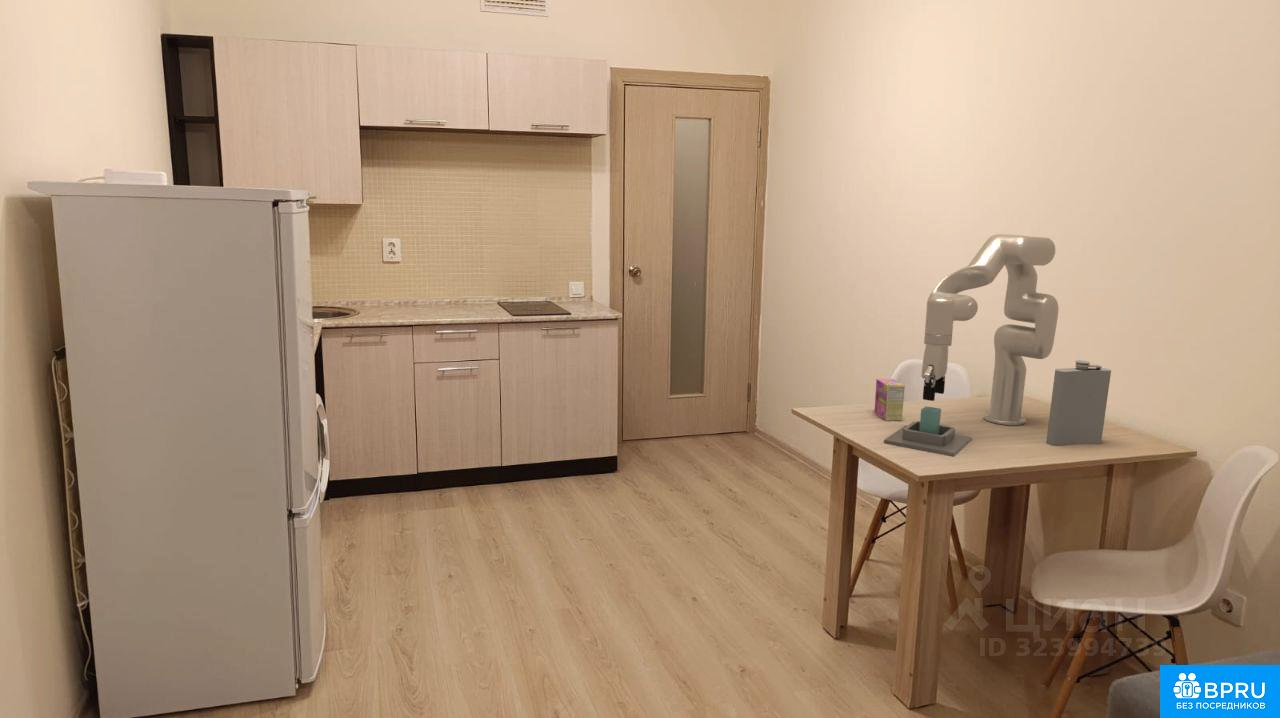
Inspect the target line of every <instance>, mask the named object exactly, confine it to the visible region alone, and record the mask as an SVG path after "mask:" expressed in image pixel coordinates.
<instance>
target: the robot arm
mask: <svg viewBox="0 0 1280 718" xmlns="http://www.w3.org/2000/svg"><path fill="white" fill-rule="evenodd" d="M1055 255H1056V245H1055V242H1054V241H1053V240H1052V239H1051V238H1049V237H1045V236H1044V237H1042V236H1029V235H1019V234H1018V235H1017V234H1006V233H1005V234H1003V233H1002V234H994V235H992V236H990V237H988V239H986V241H985V242H984V243H983V245H982V246H981V248H980V249H979V250H978V252H977V253H976V254H975V256H974V257H973V258H972V260H970V263H968V265H966V266H964V267H961V268H960V269H958V270H955V271H954V272H953V273H950V274H948V275H947V276H945V277H944V278H942V279H941V280H940V281H939V282H938V283H937V284H936V286H935V287H934V288H933V290H932V291H931V293H930V294H929V296H928V298H927V302H926V312H925V314H926V315H925V326H924V327H925V328H924V337H923V338H924V340H923V344H924V346H925V348H924V353H923V357H922V359H923V360H922V366H921V375H920V377H921V378H922V379H924V381H923V389H922V390H923V391H922V400H925V401H932V402H934V401H935V399H936V398H935V396H936V394H941V395H943V394H944V393H945V385H946V374H947V372H948V371H947V370H948V362H949V361H948V360H949V347H950V346H952V342H953V332H954V331H953V329H954V322H955V321H959V322H967V321H969V320H972V319H973V318H974V317H975V316H976V314H977V313H978V307H979V306H978V305H979V304H978V302H977V300H976V299H975V298H974V297H972V296H970V295H966V294H960V293H961V292H964V291H969V290H974V289H977V288H982V287H985V286H988V285H991V284H992V283H993V282H994V280H995V279H996V278H997V276H999V273H1000V272H1001V271H1002V269H1003V268H1004V267H1005V269H1006V271H1007V284H1006V291H1005V292H1006V293H1005V298H1004V307H1003V313H1004V316H1005V317H1006V318H1007V319H1009V320H1012V321H1017V322H1023V323H1030V324H1034V327H1031V326H1026V325H1019V324H1011V323H1009V324H1003V325H1001V326H998V328H997V329H996V331H995V332H994V336H993V344H994V346H993V347H994V367H993V368H994V369H993V377H992V385H991V394H990V395H991V396H990V403H989V404H990V405H989V412H986V413H984V414H983V419H984V420H985V421H987V422H989V423H994V424H996V425H997V424H998V425H1002V426H1003V425H1004V426H1005V425H1006V426H1022V425H1025V424H1026V420H1027V419H1026V418H1025V417H1024V416H1022V411H1023V402H1024V392H1025V383H1026V375H1027V365H1026V363H1025V361H1024V358H1029V359H1030V358H1031V359H1036V360H1045V359H1046V358H1048V357H1049V356H1050V355H1051V353H1052V351H1053V347H1054V343H1055V338H1056V337H1055V336H1056V331H1057V324H1058V317H1059V311H1060V310H1059V309H1060V308H1059V303H1058V300H1057V299H1056V297H1055V296H1054V295H1051V294H1049V293H1048V294H1047V293H1041V292H1037V285H1038V284H1037V283H1038V272H1037V270H1036V268H1035V267H1034V266H1042V267H1043V266H1046V265H1049V264H1050V263H1051V262H1052V260H1053V259H1054V257H1055Z"/></svg>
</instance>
